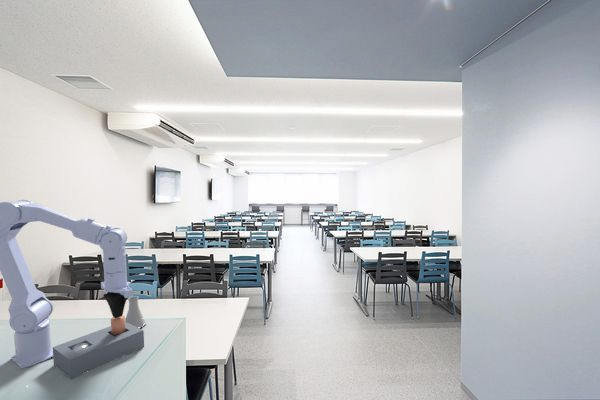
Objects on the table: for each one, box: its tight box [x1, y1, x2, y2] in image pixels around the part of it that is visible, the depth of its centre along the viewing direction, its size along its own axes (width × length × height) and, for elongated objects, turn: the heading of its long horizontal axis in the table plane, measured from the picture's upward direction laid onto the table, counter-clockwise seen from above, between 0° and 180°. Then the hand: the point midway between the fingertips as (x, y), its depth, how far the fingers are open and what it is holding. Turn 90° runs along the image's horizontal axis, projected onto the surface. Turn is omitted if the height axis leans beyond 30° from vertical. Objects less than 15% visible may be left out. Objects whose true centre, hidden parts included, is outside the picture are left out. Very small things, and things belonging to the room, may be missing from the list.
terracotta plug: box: [110, 315, 126, 336], centre depth 96 cm, size 4×4×4 cm
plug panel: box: [52, 322, 145, 380], centre depth 93 cm, size 11×19×5 cm, turn 145°
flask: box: [125, 295, 146, 327], centre depth 110 cm, size 7×7×10 cm
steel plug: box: [72, 343, 89, 352], centre depth 89 cm, size 4×4×4 cm
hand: (117, 316), depth 96 cm, fingers closed
